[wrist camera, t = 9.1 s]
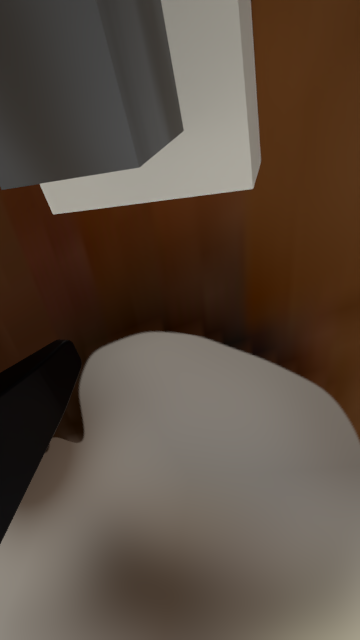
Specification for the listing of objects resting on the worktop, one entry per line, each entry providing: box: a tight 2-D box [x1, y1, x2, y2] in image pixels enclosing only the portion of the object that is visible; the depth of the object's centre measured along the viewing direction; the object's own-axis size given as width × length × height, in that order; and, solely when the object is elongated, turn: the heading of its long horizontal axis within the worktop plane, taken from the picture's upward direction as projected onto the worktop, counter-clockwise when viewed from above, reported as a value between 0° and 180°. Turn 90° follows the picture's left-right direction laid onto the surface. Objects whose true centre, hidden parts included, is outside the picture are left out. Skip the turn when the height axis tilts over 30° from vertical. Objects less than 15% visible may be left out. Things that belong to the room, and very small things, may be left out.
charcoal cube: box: [0, 0, 184, 190], centre depth 11 cm, size 5×5×5 cm
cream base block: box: [40, 0, 261, 214], centre depth 14 cm, size 10×10×4 cm
